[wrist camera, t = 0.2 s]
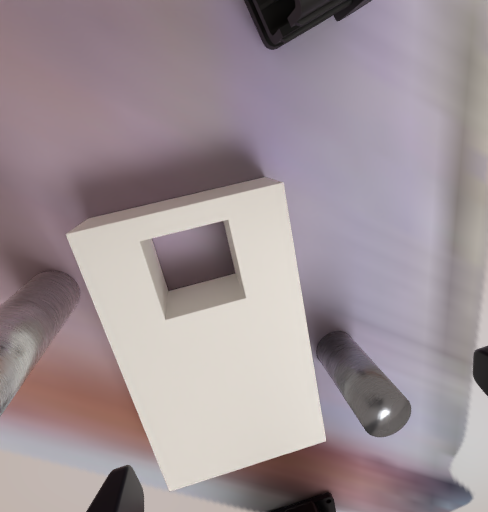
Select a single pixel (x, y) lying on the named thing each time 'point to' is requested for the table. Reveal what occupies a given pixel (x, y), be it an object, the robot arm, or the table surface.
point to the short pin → (363, 385)
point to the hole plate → (208, 331)
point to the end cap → (295, 16)
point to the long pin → (32, 326)
